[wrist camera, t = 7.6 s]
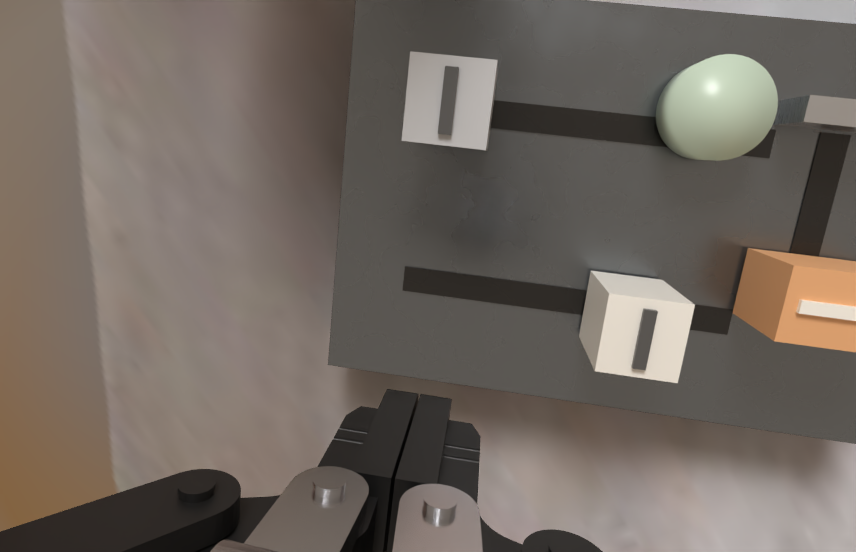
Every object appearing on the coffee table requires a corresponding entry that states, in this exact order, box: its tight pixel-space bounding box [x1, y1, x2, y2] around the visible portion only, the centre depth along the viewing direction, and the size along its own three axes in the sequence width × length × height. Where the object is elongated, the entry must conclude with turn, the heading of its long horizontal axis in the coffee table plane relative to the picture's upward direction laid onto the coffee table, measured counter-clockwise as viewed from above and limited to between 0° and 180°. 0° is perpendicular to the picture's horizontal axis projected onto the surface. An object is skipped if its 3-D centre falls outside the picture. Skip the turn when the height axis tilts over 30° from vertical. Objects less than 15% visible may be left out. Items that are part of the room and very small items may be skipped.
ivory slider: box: [579, 271, 695, 383], centre depth 24 cm, size 3×3×5 cm
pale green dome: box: [656, 54, 778, 161], centre depth 23 cm, size 4×4×2 cm
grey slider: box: [402, 51, 498, 151], centre depth 23 cm, size 3×3×5 cm
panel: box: [328, 0, 856, 444], centre depth 27 cm, size 18×26×6 cm
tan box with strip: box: [733, 248, 856, 352], centre depth 23 cm, size 3×5×4 cm, turn 84°
